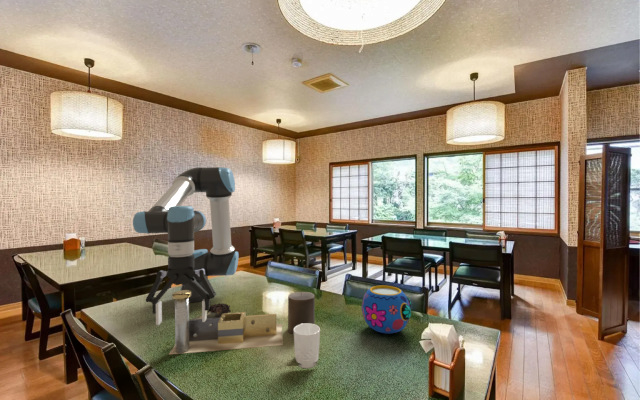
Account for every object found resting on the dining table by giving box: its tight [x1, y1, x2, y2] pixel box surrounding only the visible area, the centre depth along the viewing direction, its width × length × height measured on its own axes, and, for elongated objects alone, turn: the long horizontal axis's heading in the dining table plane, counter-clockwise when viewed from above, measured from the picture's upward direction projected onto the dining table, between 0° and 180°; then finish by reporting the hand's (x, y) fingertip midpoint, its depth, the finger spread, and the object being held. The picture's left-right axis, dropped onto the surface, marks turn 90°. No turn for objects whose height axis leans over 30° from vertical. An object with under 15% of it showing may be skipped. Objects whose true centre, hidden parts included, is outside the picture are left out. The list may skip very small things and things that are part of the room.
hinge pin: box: [171, 290, 191, 354], centre depth 92 cm, size 5×5×18 cm
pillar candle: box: [287, 291, 316, 336], centre depth 106 cm, size 10×10×15 cm
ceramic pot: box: [361, 285, 412, 335], centre depth 107 cm, size 18×18×15 cm
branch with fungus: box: [192, 302, 232, 319], centre depth 116 cm, size 18×7×6 cm, turn 151°
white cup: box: [293, 323, 321, 369], centre depth 87 cm, size 8×8×10 cm
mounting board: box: [167, 323, 284, 355], centre depth 100 cm, size 16×35×1 cm, turn 99°
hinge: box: [189, 311, 277, 344], centre depth 100 cm, size 8×30×7 cm, turn 99°
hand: (181, 321), depth 92 cm, fingers open, 13 cm apart
